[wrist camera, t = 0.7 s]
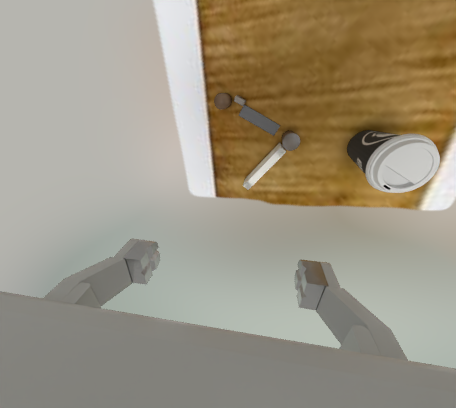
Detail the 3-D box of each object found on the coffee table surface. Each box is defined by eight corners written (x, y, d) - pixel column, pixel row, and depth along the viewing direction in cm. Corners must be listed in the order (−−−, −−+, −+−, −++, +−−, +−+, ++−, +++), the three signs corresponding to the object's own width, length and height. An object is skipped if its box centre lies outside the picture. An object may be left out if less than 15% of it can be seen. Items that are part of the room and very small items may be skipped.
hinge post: (286, 126, 43) (289, 130, 39) (299, 133, 43) (303, 138, 39) (277, 140, 45) (279, 145, 40) (290, 147, 45) (293, 153, 41)
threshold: (244, 104, 42) (244, 104, 42) (280, 125, 43) (280, 125, 43) (238, 115, 43) (238, 115, 43) (273, 135, 44) (273, 135, 44)
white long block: (279, 142, 44) (280, 146, 41) (284, 147, 44) (286, 151, 41) (244, 179, 50) (243, 185, 46) (249, 183, 50) (248, 190, 47)
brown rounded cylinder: (223, 87, 41) (219, 86, 37) (246, 100, 42) (244, 101, 38) (216, 103, 43) (212, 104, 39) (238, 116, 44) (236, 118, 39)
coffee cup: (331, 141, 43) (361, 162, 30) (378, 112, 39) (435, 121, 26) (350, 175, 46) (385, 207, 33) (396, 150, 42) (455, 175, 29)
